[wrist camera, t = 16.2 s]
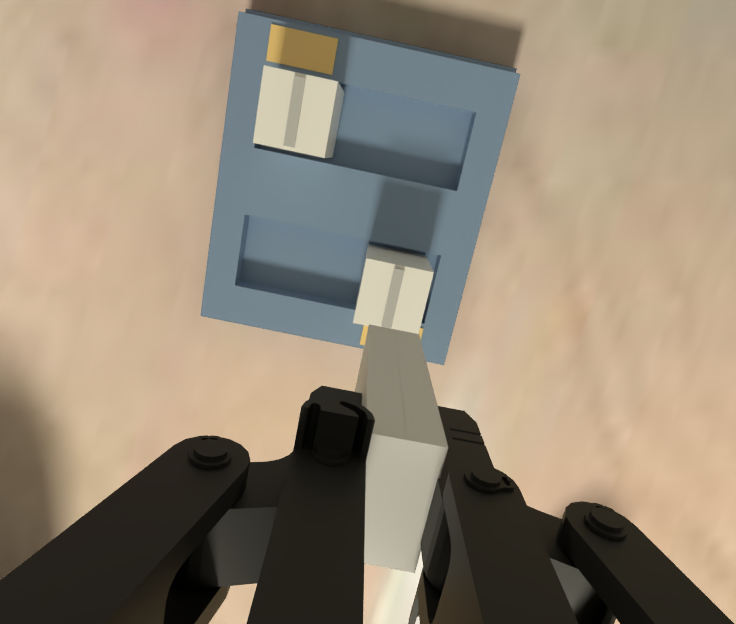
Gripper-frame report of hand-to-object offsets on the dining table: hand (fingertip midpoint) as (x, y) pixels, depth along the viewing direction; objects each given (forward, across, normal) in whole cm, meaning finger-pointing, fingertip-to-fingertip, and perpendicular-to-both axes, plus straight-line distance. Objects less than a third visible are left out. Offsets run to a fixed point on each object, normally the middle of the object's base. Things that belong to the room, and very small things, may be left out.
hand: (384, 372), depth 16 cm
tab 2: (+22, +1, -2) cm, 22 cm away
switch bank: (+23, -2, +3) cm, 23 cm away
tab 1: (+22, -6, +7) cm, 24 cm away
